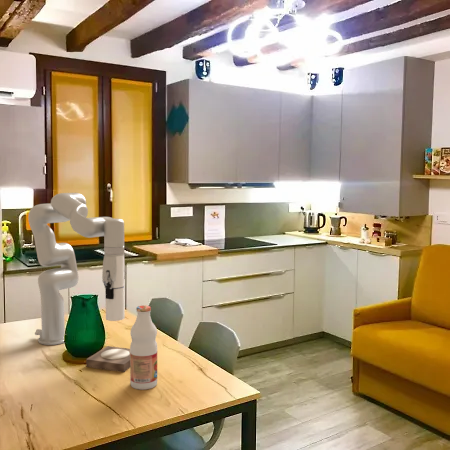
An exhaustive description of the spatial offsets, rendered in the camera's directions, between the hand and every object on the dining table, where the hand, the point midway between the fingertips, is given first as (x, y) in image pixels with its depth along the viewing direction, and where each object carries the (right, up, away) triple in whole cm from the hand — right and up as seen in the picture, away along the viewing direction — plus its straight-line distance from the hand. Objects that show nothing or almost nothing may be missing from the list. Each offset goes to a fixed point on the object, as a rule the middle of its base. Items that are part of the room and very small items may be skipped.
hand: (114, 296), depth 204 cm
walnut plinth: (0, -26, +3) cm, 26 cm away
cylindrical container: (0, -9, +1) cm, 9 cm away
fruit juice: (+14, -29, -18) cm, 37 cm away
